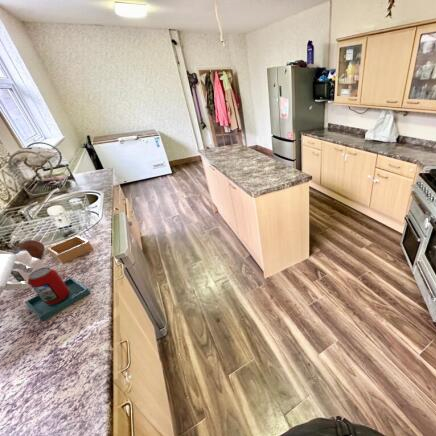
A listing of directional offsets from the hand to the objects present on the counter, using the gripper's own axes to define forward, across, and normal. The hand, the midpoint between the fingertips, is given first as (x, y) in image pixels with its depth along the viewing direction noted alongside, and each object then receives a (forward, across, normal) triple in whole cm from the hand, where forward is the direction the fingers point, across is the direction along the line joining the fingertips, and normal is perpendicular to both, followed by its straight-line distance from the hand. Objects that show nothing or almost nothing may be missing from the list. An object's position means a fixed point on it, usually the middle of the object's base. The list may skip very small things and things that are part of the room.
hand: (30, 277), depth 75 cm
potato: (+3, +42, +14) cm, 44 cm away
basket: (+12, +33, +5) cm, 36 cm away
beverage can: (+10, 0, +6) cm, 12 cm away
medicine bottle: (+4, +23, +14) cm, 27 cm away
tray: (+10, 0, +6) cm, 12 cm away
